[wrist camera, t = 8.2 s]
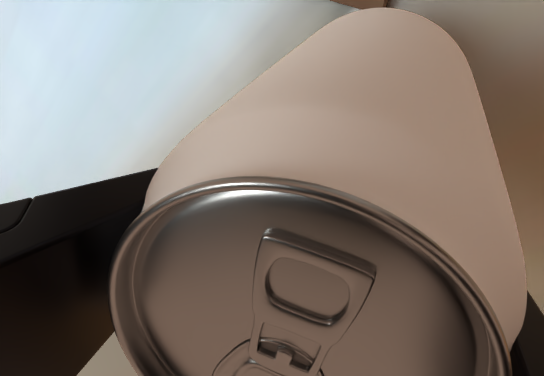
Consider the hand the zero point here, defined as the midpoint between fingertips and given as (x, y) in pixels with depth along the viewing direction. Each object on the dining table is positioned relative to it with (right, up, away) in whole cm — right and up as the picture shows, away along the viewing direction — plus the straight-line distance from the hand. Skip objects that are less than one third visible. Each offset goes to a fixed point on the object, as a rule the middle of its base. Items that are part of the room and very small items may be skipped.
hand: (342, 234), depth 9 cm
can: (+2, +4, +8) cm, 9 cm away
